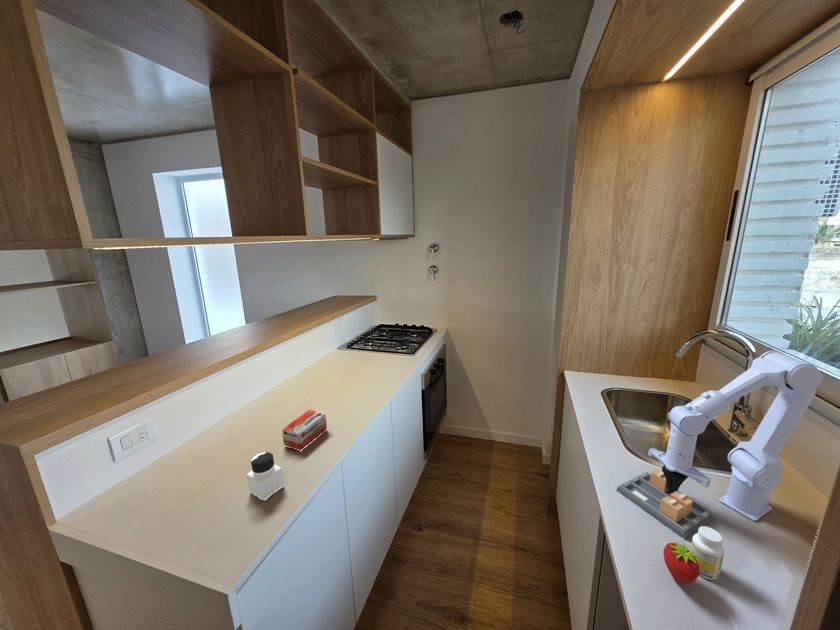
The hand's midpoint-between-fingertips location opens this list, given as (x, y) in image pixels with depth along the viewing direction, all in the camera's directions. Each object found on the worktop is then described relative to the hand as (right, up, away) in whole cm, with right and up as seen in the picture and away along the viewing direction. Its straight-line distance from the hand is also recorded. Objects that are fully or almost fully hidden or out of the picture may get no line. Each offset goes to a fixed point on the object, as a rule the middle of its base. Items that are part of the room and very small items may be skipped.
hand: (672, 491), depth 94 cm
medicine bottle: (-119, -4, +8) cm, 119 cm away
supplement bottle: (-7, -8, -18) cm, 21 cm away
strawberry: (-15, -9, -21) cm, 27 cm away
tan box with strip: (-2, -2, -5) cm, 6 cm away
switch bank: (-4, -3, -1) cm, 5 cm away
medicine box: (-115, +2, +34) cm, 120 cm away
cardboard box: (-1, 0, +3) cm, 4 cm away
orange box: (-6, -3, -6) cm, 9 cm away
